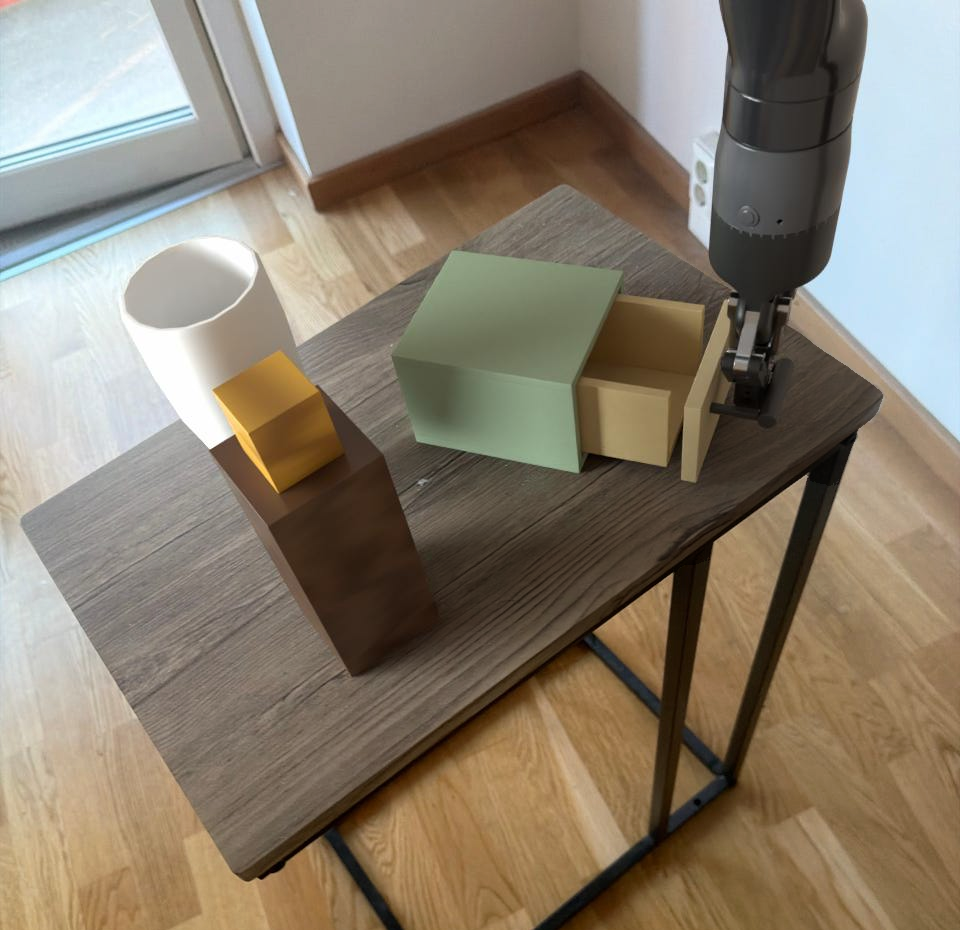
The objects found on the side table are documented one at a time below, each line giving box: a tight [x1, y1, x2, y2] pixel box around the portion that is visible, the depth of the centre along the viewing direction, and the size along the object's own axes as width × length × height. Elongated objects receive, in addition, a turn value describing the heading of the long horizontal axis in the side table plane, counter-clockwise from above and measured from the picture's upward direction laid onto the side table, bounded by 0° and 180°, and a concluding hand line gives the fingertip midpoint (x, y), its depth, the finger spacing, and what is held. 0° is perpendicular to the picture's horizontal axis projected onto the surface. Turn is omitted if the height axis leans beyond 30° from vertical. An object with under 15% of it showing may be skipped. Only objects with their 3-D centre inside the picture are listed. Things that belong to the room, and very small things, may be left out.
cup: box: [118, 235, 308, 449], centre depth 69 cm, size 10×10×22 cm
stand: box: [208, 384, 441, 678], centre depth 63 cm, size 8×8×18 cm
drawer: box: [576, 294, 796, 484], centre depth 72 cm, size 18×11×8 cm, turn 68°
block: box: [212, 350, 344, 493], centre depth 54 cm, size 5×5×5 cm
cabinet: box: [390, 249, 625, 474], centre depth 76 cm, size 15×13×10 cm
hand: (749, 401), depth 70 cm, fingers closed
